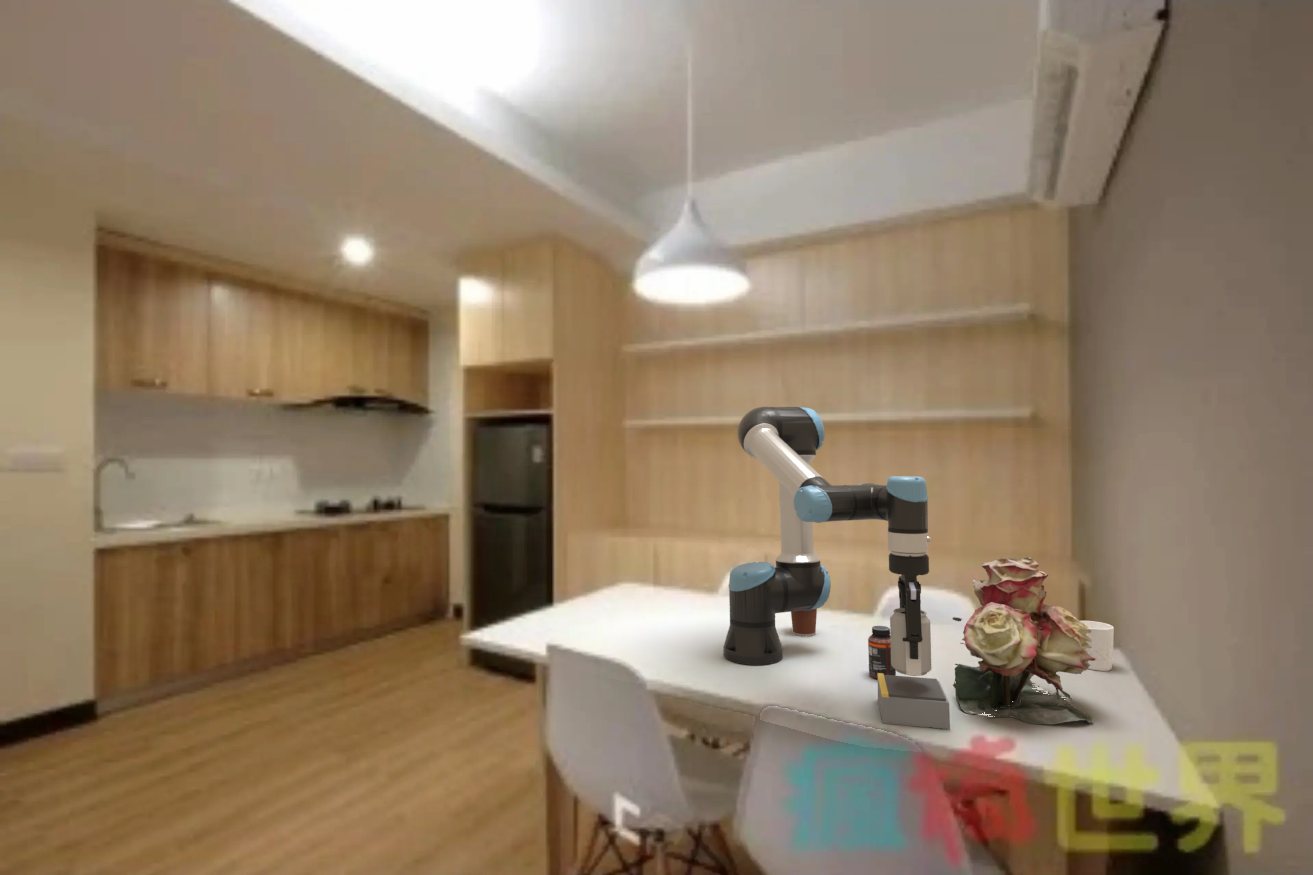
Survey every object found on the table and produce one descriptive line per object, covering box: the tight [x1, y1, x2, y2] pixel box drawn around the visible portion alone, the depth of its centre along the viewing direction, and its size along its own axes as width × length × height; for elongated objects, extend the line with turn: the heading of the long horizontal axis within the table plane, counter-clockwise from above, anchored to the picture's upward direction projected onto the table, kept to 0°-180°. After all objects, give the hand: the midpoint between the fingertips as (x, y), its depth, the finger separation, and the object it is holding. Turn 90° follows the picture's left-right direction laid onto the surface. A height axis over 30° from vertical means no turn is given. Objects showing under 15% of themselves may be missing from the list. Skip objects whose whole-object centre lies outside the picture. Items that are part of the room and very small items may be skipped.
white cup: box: [1079, 620, 1115, 672], centre depth 154 cm, size 8×8×10 cm
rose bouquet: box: [951, 556, 1095, 725], centre depth 133 cm, size 26×29×30 cm
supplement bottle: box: [867, 625, 897, 680], centre depth 149 cm, size 6×6×11 cm
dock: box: [877, 673, 951, 730], centre depth 127 cm, size 12×12×6 cm
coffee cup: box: [790, 608, 818, 637], centre depth 185 cm, size 9×9×12 cm
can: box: [889, 607, 932, 677], centre depth 128 cm, size 8×8×12 cm
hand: (911, 667), depth 127 cm, fingers closed on can, 7 cm apart
